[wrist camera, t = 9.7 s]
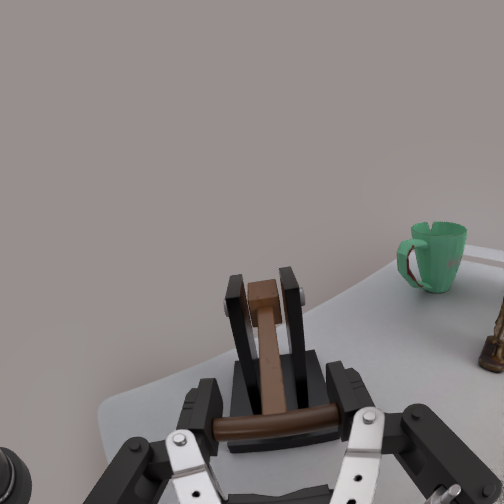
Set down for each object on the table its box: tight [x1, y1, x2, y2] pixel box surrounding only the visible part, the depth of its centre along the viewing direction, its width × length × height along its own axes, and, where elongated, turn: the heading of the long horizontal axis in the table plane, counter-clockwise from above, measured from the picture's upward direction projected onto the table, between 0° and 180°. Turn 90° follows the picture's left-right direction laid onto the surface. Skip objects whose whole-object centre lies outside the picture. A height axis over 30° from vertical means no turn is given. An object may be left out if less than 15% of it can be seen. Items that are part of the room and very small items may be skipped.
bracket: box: [224, 267, 340, 453], centre depth 22 cm, size 12×9×13 cm
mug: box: [397, 222, 467, 293], centre depth 36 cm, size 15×10×10 cm
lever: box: [212, 279, 340, 442], centre depth 16 cm, size 13×6×2 cm, turn 0°
